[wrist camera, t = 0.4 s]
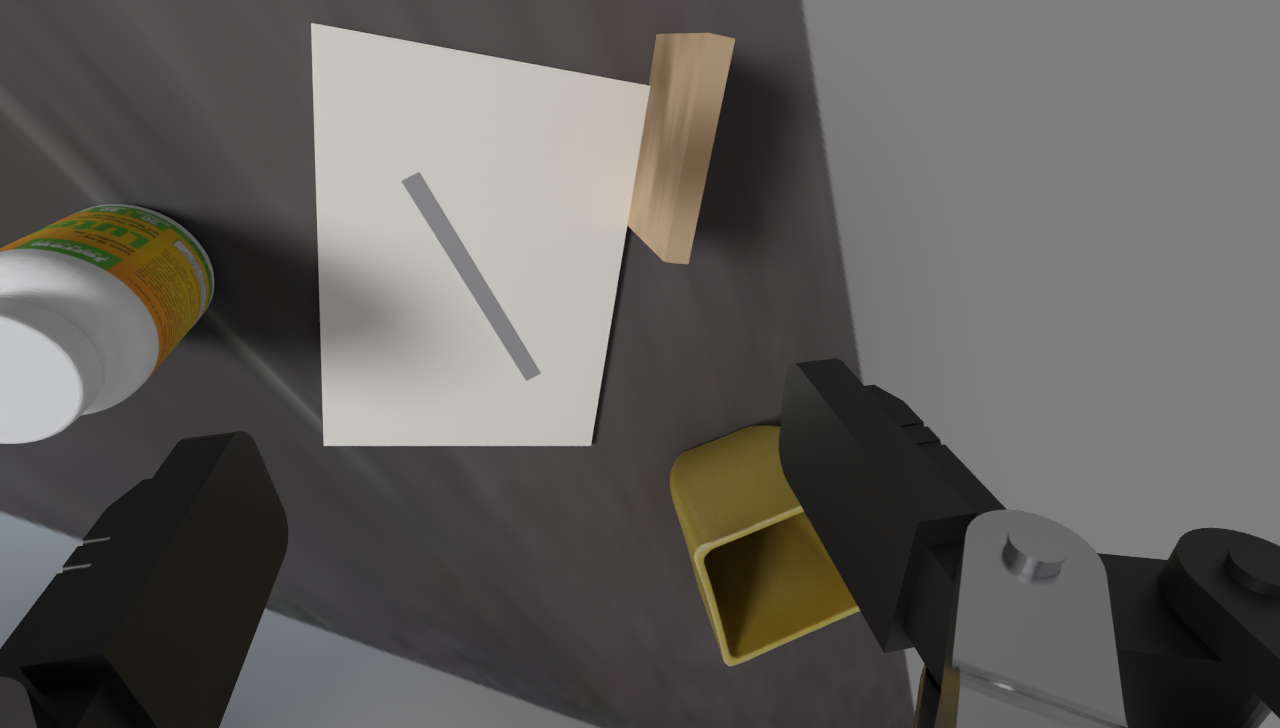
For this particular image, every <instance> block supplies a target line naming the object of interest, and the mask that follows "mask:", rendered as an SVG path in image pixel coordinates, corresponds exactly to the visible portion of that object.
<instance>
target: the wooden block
mask: <svg viewBox="0 0 1280 728" xmlns="http://www.w3.org/2000/svg"><path fill="white" fill-rule="evenodd" d="M734 43H735V39H734V38H729V37H725V36H720V35H716V34H711V33H684V34H657V36H656V42H655V48H654V54H653V60H652V66H651V73H650V79H649V85H648V86H650V91H649V97H648V103H647V109H646V115H645V121H644V127H643V133H642V139H641V146H640V152H639V158H638V164H637V170H636V176H635V182H634V188H633V194H632V200H631V206H630V212H629V218H628V224H627V226H628V227H629V228H631V229H632V230H633V231H634V232H635V233H636V234H637V235H638V236H639V237H640V238H641V239H642V240H643V241H644V242H645V243H646V244H647V245H648V246H649V247H650V248H651V249H652V250H653V251H654V252H655V253H656V254H657V255H658V256H659V257H660V258H661V259H662V260H663V261H664V262H670V263H680V264H688V263H689V258H690V253H691V249H692V244H693V239H694V234H695V229H696V225H697V220H698V215H699V210H700V206H701V201H702V196H703V191H704V186H705V182H706V177H707V172H708V167H709V162H710V158H711V153H712V148H713V143H714V138H715V134H716V129H717V124H718V119H719V114H720V110H721V105H722V100H723V95H724V91H725V86H726V81H727V76H728V71H729V67H730V62H731V57H732V52H733V47H734Z"/></svg>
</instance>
